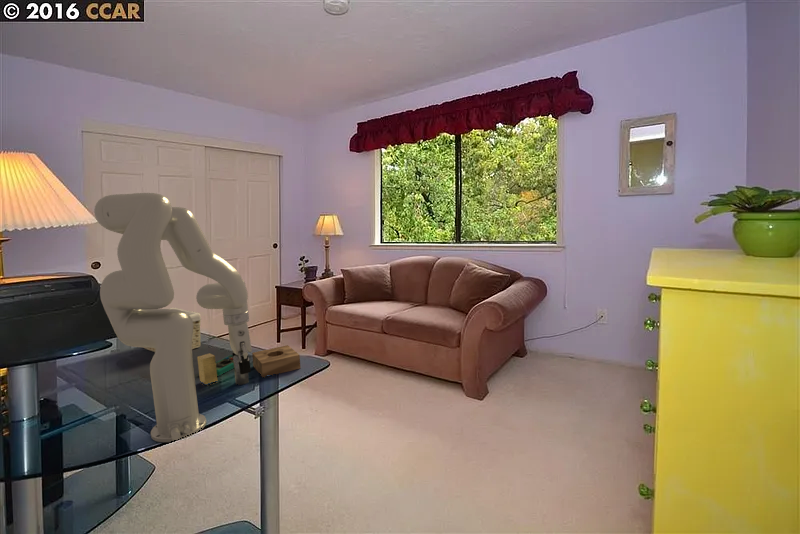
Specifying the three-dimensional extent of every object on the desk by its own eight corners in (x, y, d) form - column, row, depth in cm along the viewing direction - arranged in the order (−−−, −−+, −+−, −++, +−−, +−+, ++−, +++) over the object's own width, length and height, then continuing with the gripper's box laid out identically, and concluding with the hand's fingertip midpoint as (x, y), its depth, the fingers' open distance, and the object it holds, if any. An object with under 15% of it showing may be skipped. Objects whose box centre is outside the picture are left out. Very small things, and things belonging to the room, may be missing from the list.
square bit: (217, 381, 135) (215, 355, 134) (205, 386, 132) (202, 359, 131) (212, 378, 138) (209, 353, 136) (200, 382, 135) (197, 356, 133)
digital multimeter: (247, 362, 153) (247, 355, 152) (218, 378, 139) (217, 370, 138) (231, 361, 155) (231, 353, 155) (201, 376, 141) (200, 368, 141)
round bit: (250, 382, 133) (247, 356, 132) (237, 386, 131) (234, 359, 130) (247, 378, 136) (244, 352, 135) (234, 381, 134) (231, 355, 133)
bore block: (300, 368, 144) (299, 354, 143) (262, 377, 137) (261, 363, 136) (288, 357, 155) (287, 345, 154) (253, 366, 148) (252, 352, 147)
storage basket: (139, 348, 173) (134, 314, 171) (178, 338, 186) (174, 306, 184) (165, 359, 159) (160, 322, 157) (205, 347, 171) (202, 312, 169)
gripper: (255, 321, 126) (260, 374, 128) (242, 310, 140) (247, 357, 143) (229, 326, 122) (235, 380, 124) (218, 314, 136) (224, 362, 139)
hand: (241, 368), depth 134 cm, fingers open, 9 cm apart
